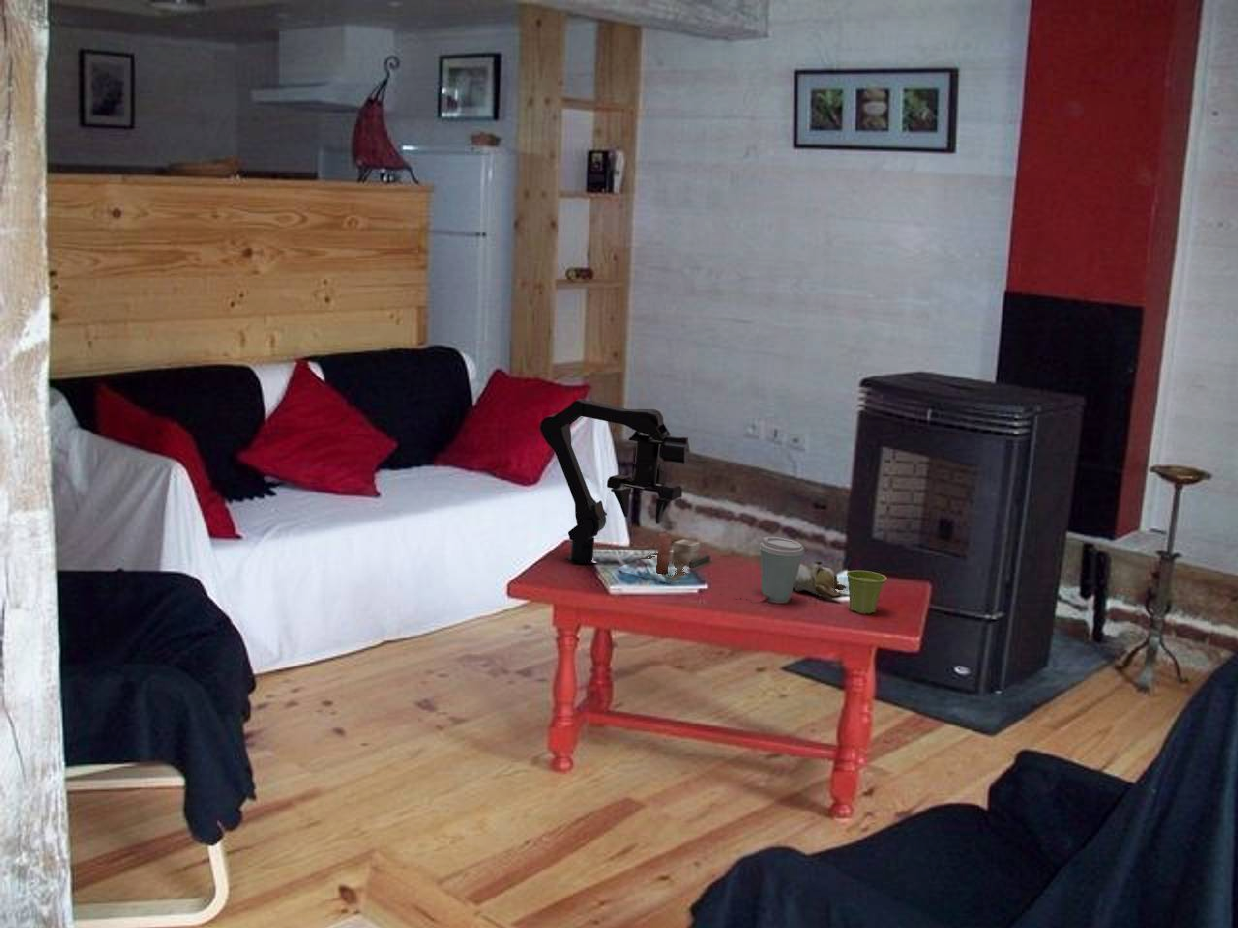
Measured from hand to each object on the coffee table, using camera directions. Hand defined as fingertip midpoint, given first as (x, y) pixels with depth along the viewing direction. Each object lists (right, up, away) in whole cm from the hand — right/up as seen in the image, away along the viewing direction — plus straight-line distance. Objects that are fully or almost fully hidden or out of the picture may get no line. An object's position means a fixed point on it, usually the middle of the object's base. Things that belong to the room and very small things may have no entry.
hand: (641, 520), depth 362 cm
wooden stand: (+7, -13, +5) cm, 15 cm away
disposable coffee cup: (+32, -19, -15) cm, 40 cm away
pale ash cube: (+11, -11, +9) cm, 18 cm away
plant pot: (+53, -21, -18) cm, 60 cm away
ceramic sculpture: (+44, -18, -7) cm, 48 cm away
